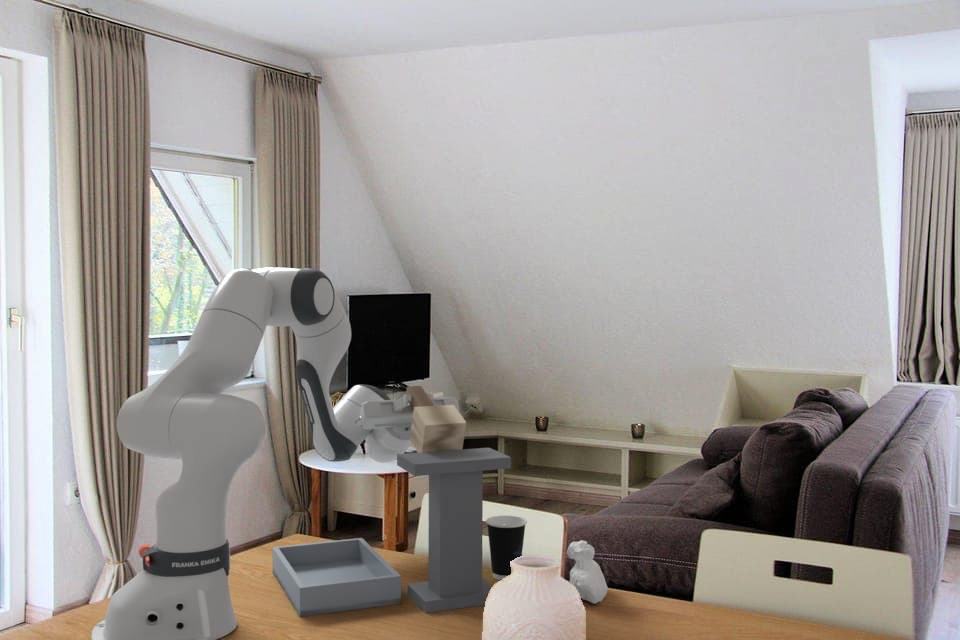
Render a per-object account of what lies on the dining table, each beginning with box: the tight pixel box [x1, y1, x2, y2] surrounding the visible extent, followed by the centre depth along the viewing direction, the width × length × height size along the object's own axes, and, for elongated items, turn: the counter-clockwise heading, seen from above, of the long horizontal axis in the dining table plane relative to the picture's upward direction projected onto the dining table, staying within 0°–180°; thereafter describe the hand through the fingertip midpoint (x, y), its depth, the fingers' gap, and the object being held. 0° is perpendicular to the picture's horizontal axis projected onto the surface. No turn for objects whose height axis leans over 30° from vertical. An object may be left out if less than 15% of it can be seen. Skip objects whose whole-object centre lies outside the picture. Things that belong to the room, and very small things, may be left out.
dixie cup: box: [485, 515, 528, 581], centre depth 183 cm, size 8×8×11 cm
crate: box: [272, 537, 402, 618], centre depth 176 cm, size 18×26×5 cm
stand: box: [396, 447, 512, 614], centre depth 170 cm, size 18×10×26 cm, turn 112°
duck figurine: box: [566, 539, 609, 605], centre depth 172 cm, size 12×8×11 cm
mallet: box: [405, 385, 467, 453], centre depth 182 cm, size 8×19×7 cm, turn 22°
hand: (419, 397), depth 187 cm, fingers closed on mallet, 3 cm apart
